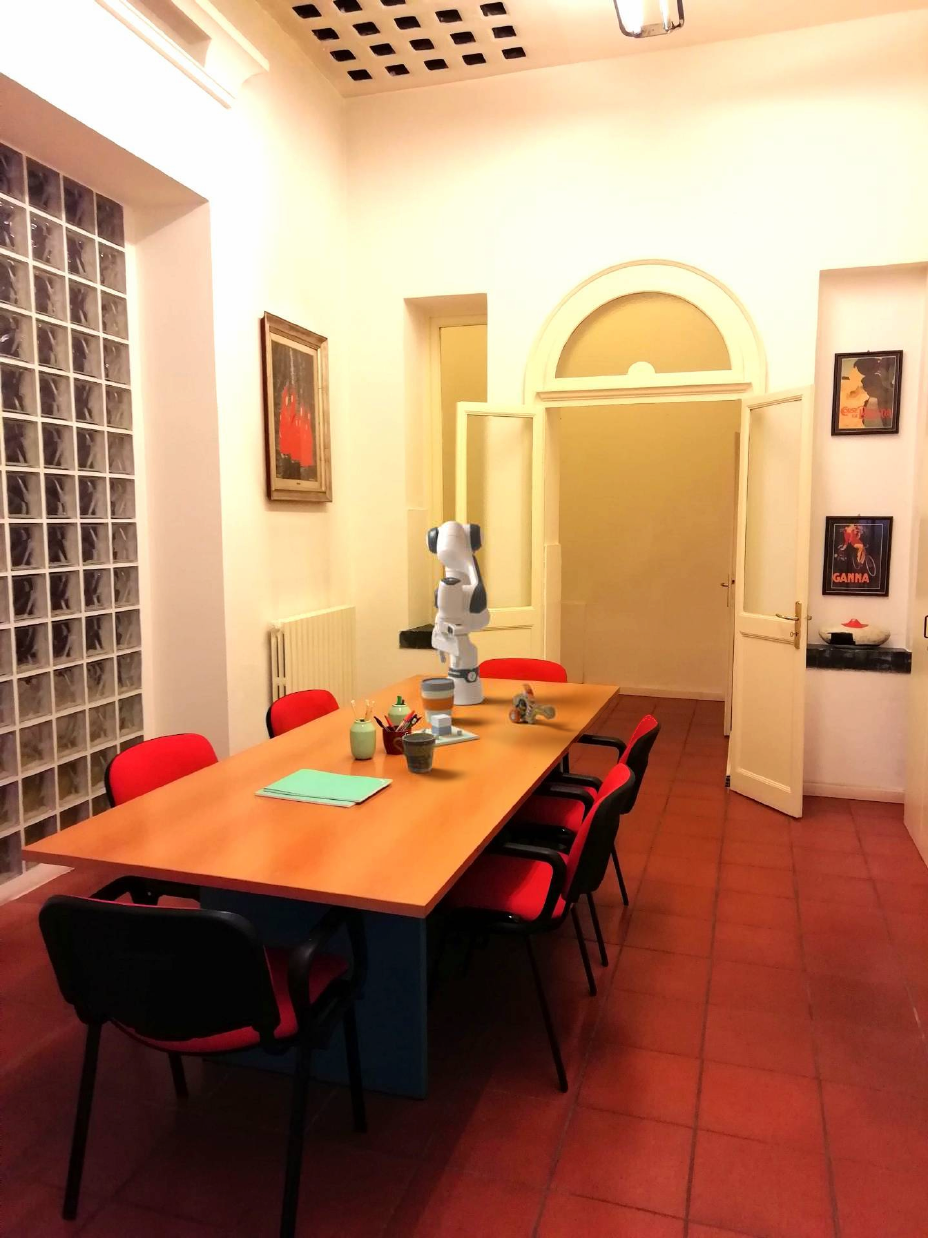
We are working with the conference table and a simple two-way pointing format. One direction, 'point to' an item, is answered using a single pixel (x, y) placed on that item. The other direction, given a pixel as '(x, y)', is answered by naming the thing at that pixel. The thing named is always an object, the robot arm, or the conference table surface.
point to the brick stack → (441, 725)
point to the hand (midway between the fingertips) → (449, 665)
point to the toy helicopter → (528, 707)
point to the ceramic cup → (418, 751)
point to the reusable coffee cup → (437, 696)
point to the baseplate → (451, 736)
